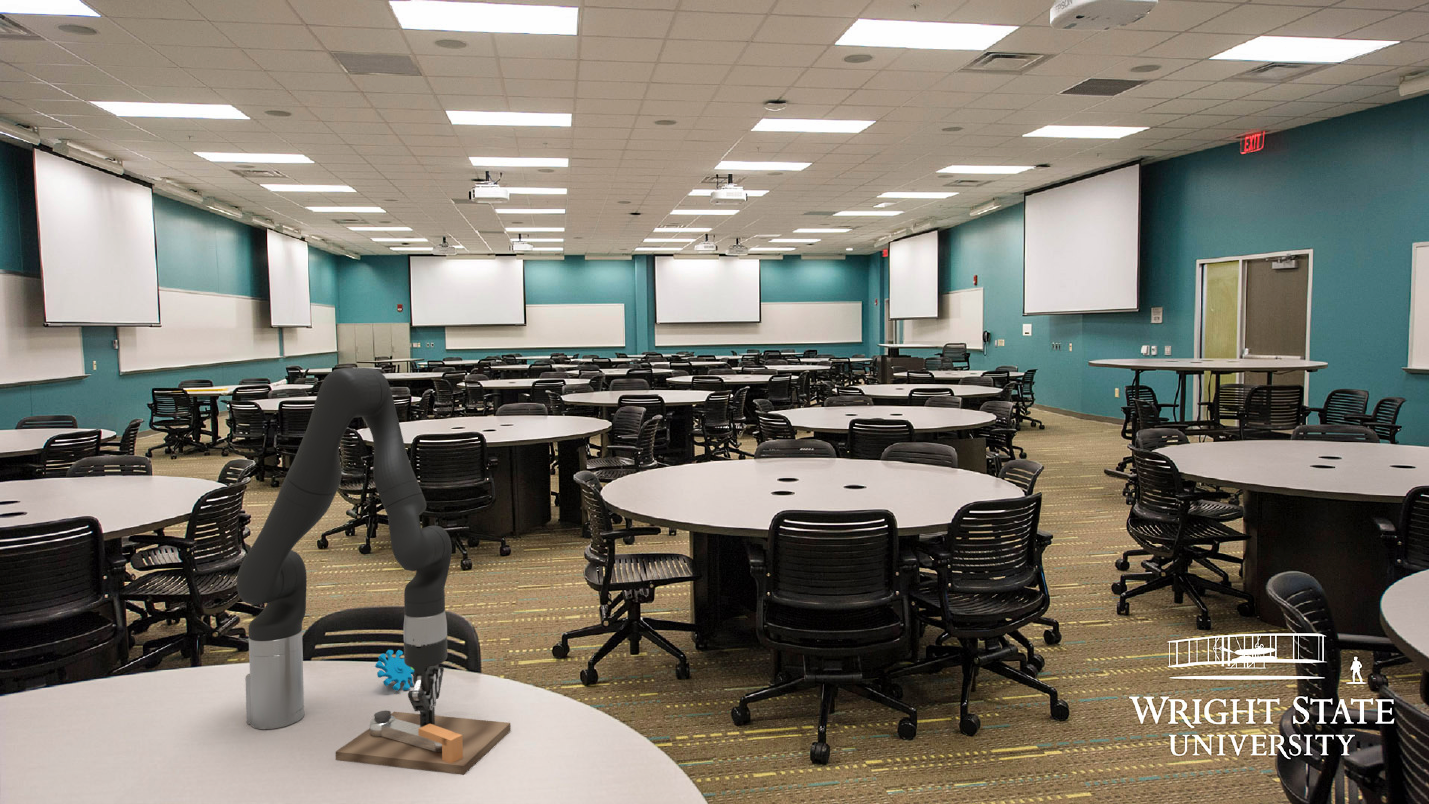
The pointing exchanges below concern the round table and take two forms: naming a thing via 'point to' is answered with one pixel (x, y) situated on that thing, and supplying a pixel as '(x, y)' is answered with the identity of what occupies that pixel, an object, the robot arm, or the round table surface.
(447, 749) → the block
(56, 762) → the round table surface
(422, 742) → the lever
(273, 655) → the robot arm
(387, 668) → the gear
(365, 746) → the base plate
